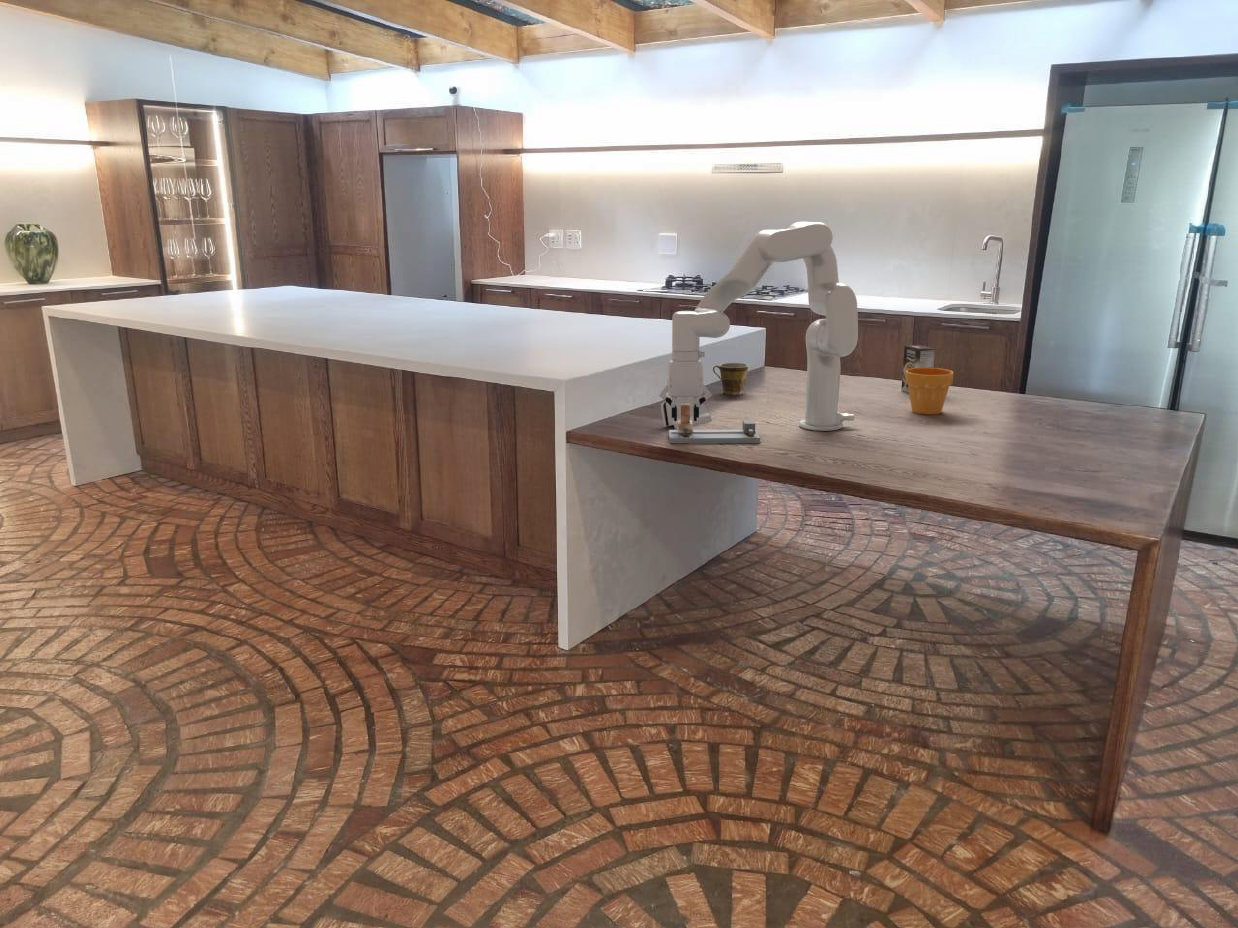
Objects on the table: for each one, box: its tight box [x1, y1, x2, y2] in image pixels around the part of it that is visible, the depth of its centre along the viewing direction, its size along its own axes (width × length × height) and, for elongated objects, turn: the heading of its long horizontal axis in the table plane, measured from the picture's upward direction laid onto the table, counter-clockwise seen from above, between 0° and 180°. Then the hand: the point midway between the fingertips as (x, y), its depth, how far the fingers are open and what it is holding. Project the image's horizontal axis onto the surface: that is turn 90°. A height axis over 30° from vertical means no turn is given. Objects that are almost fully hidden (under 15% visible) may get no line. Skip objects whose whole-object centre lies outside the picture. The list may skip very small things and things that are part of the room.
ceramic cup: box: [712, 362, 749, 396], centre depth 314 cm, size 13×10×10 cm
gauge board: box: [668, 419, 761, 444], centre depth 251 cm, size 25×10×5 cm, turn 89°
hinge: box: [660, 396, 713, 430], centre depth 271 cm, size 17×5×10 cm, turn 133°
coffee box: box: [900, 344, 936, 394], centre depth 310 cm, size 9×6×16 cm
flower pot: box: [905, 367, 954, 415], centre depth 281 cm, size 14×14×13 cm
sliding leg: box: [677, 404, 694, 436], centre depth 250 cm, size 4×8×8 cm, turn 179°
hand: (685, 419), depth 252 cm, fingers open, 4 cm apart
